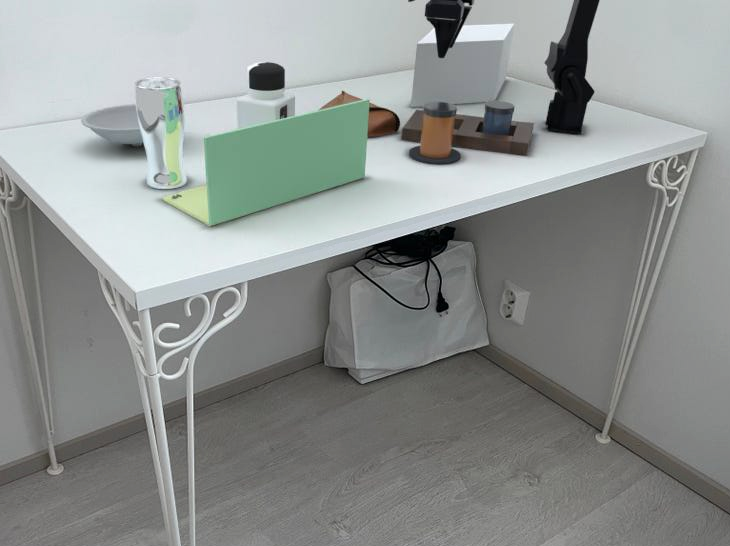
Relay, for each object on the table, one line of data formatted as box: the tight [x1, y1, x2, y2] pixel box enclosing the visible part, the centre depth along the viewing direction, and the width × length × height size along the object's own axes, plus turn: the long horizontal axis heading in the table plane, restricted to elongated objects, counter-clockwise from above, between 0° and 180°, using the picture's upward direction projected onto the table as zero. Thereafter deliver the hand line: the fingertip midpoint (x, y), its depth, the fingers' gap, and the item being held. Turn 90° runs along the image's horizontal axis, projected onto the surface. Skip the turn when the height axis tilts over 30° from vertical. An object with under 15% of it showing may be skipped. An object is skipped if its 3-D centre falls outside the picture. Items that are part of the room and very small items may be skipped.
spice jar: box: [482, 100, 516, 136], centre depth 136 cm, size 5×5×6 cm
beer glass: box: [134, 76, 188, 190], centre depth 112 cm, size 7×7×15 cm
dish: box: [80, 103, 143, 147], centre depth 129 cm, size 18×14×5 cm
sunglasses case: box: [316, 90, 401, 138], centre depth 143 cm, size 18×7×7 cm, turn 36°
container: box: [236, 61, 296, 129], centre depth 131 cm, size 8×8×13 cm
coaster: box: [408, 145, 462, 165], centre depth 130 cm, size 9×9×1 cm
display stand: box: [161, 98, 370, 227], centre depth 112 cm, size 30×12×12 cm, turn 132°
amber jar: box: [419, 102, 458, 158], centre depth 128 cm, size 6×6×8 cm
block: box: [410, 23, 515, 108], centre depth 161 cm, size 18×35×12 cm, turn 135°
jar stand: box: [400, 109, 535, 156], centre depth 138 cm, size 23×13×2 cm, turn 72°
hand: (445, 52), depth 139 cm, fingers open, 9 cm apart
